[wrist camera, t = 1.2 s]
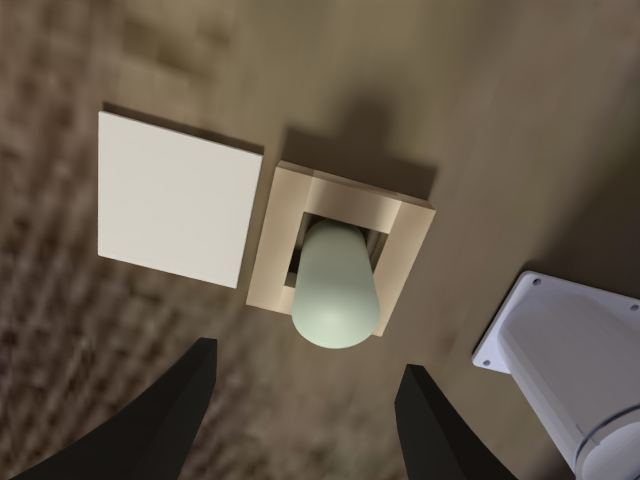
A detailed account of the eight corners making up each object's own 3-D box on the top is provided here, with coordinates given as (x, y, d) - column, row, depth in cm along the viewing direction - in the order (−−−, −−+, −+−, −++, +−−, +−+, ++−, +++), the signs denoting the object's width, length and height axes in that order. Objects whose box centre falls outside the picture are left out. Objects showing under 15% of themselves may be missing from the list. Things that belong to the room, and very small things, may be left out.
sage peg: (374, 227, 21) (393, 287, 15) (354, 281, 23) (363, 356, 16) (311, 210, 21) (303, 265, 15) (296, 266, 23) (282, 337, 16)
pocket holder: (427, 200, 20) (436, 210, 19) (377, 319, 24) (381, 336, 22) (280, 159, 20) (276, 166, 18) (251, 288, 23) (245, 304, 22)
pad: (263, 155, 20) (262, 156, 19) (237, 285, 23) (235, 288, 23) (103, 110, 19) (98, 111, 18) (101, 252, 22) (98, 254, 22)
